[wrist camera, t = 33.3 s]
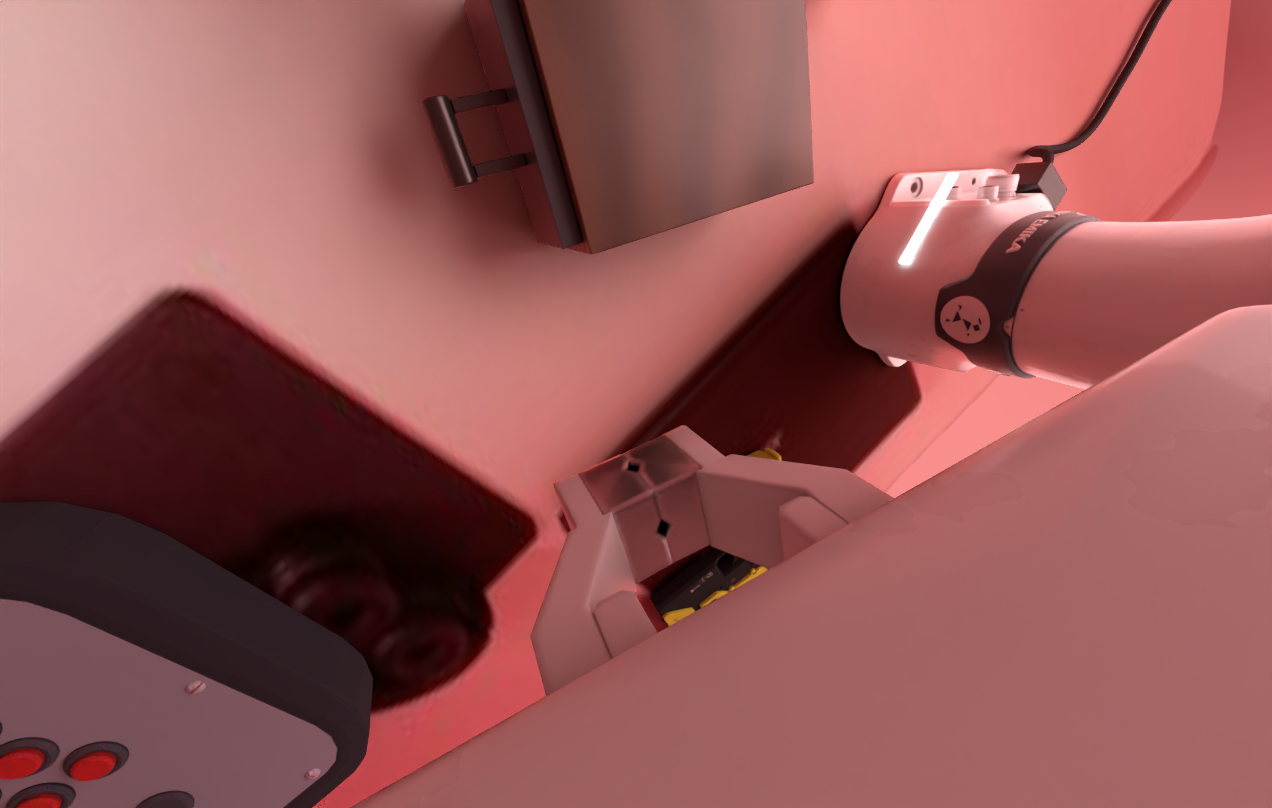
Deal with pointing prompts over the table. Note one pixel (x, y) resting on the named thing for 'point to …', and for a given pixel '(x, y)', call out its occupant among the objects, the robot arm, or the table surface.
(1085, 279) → the robot arm
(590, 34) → the cabinet
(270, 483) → the table surface
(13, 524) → the arcade joystick
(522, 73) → the drawer
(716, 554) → the stun gun
